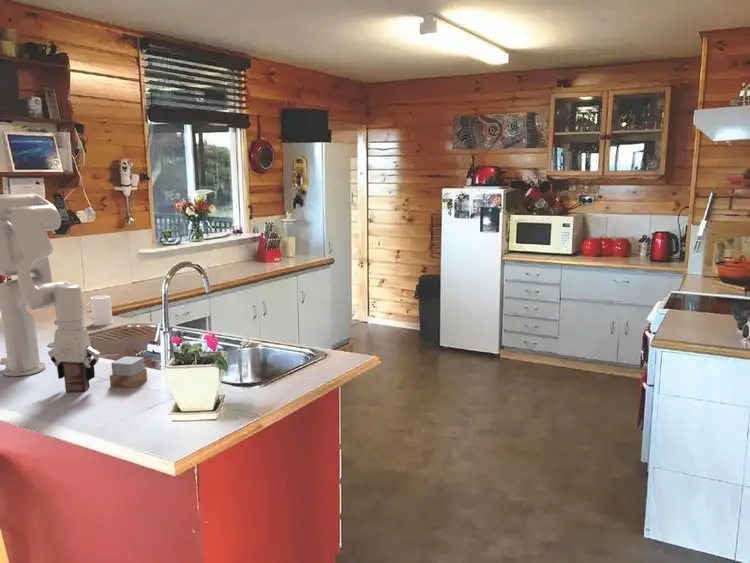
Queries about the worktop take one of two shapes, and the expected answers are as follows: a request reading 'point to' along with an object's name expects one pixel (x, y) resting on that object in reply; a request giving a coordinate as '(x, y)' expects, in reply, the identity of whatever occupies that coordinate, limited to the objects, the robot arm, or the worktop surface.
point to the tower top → (128, 366)
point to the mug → (100, 310)
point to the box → (75, 377)
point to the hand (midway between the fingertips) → (76, 378)
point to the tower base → (128, 380)
